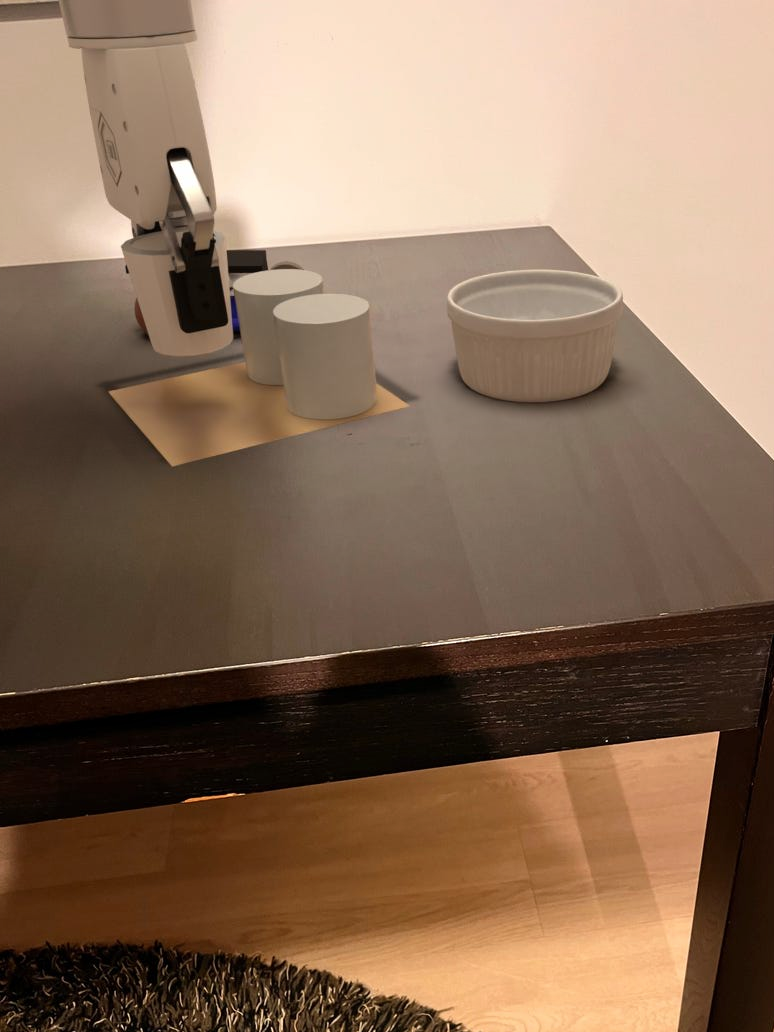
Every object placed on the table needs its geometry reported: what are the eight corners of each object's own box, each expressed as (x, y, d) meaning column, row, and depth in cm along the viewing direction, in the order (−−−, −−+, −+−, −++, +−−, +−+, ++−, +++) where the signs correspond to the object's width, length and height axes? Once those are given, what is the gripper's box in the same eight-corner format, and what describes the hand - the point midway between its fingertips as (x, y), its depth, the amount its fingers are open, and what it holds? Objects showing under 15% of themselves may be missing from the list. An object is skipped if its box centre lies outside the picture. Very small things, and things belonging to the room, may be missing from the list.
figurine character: (309, 332, 95) (142, 325, 92) (309, 248, 90) (134, 238, 88) (309, 357, 89) (132, 350, 87) (309, 269, 85) (122, 259, 82)
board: (173, 474, 67) (171, 466, 67) (109, 398, 79) (107, 391, 78) (410, 413, 75) (410, 405, 74) (321, 352, 86) (320, 345, 86)
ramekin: (436, 360, 84) (432, 274, 80) (589, 346, 86) (593, 261, 82) (468, 423, 73) (465, 327, 69) (641, 404, 75) (648, 311, 71)
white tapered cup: (220, 361, 68) (200, 254, 64) (126, 357, 70) (101, 252, 65) (255, 328, 74) (240, 227, 70) (168, 325, 75) (147, 226, 71)
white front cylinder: (308, 427, 72) (295, 329, 68) (272, 397, 76) (258, 304, 72) (393, 406, 74) (386, 311, 70) (353, 378, 79) (344, 287, 75)
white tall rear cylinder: (266, 392, 77) (252, 300, 73) (234, 366, 82) (219, 278, 78) (346, 374, 80) (337, 284, 76) (311, 349, 85) (301, 264, 81)
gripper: (32, 13, 65) (100, 294, 75) (103, 27, 53) (173, 361, 63) (148, 5, 68) (198, 276, 78) (240, 18, 56) (285, 337, 66)
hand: (186, 312), depth 70 cm, fingers closed on white tapered cup, 6 cm apart
